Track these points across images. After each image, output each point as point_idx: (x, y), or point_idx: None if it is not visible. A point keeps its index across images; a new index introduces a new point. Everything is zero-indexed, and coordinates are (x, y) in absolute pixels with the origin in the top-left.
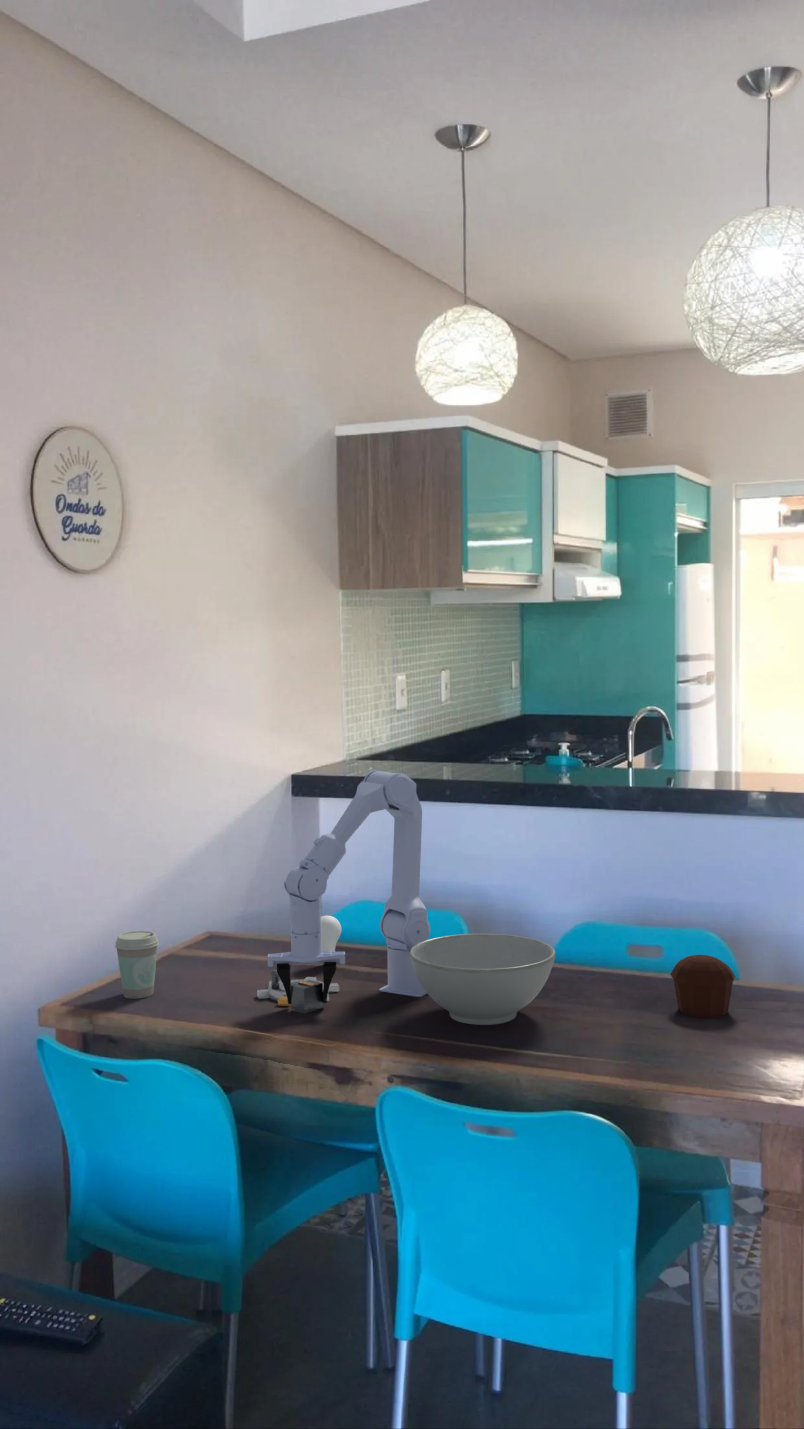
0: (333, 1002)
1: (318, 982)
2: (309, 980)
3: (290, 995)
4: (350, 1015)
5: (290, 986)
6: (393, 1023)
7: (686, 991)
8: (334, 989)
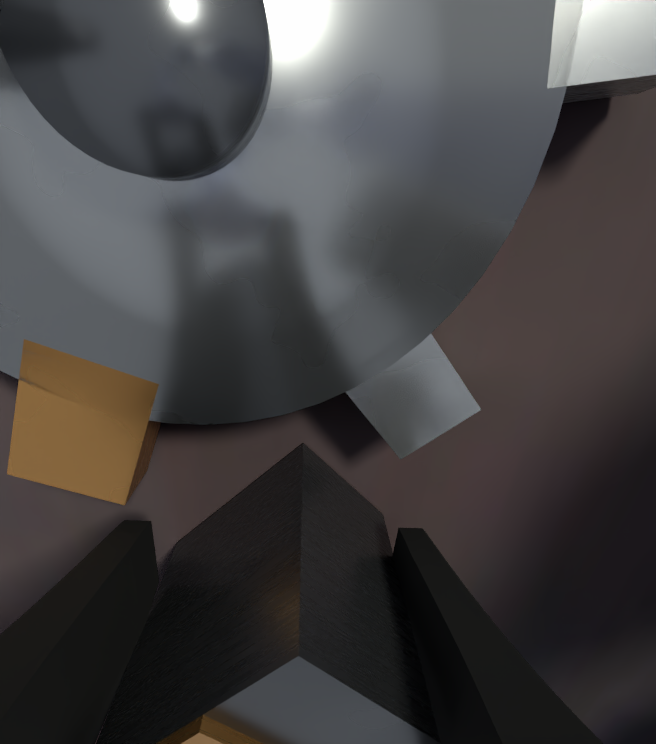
0: (483, 386)
1: (397, 734)
2: (292, 674)
3: (119, 672)
4: (506, 616)
5: (69, 738)
6: (641, 705)
7: None
8: (608, 92)
